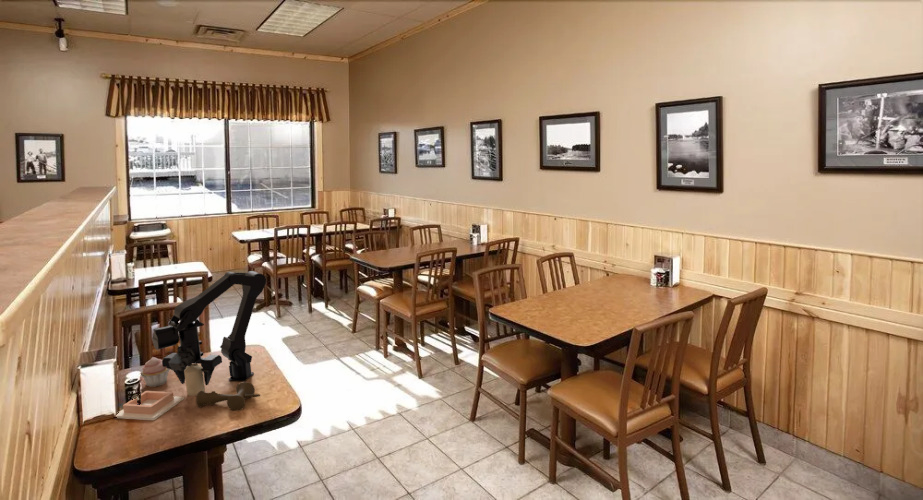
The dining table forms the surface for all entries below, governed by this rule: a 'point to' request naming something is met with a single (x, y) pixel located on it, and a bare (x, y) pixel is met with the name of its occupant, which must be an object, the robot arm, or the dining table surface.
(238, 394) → the kendama
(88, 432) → the dining table surface
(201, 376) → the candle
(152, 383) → the cupcake
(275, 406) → the dining table surface
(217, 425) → the dining table surface
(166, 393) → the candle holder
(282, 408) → the dining table surface
